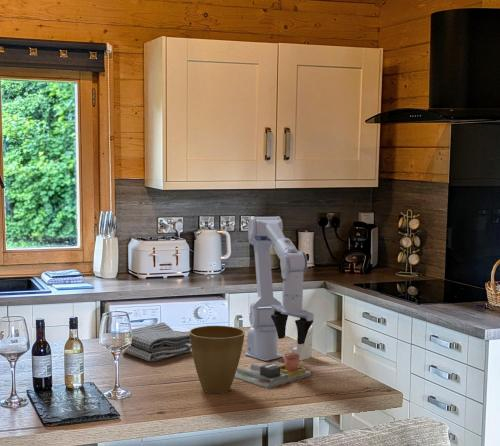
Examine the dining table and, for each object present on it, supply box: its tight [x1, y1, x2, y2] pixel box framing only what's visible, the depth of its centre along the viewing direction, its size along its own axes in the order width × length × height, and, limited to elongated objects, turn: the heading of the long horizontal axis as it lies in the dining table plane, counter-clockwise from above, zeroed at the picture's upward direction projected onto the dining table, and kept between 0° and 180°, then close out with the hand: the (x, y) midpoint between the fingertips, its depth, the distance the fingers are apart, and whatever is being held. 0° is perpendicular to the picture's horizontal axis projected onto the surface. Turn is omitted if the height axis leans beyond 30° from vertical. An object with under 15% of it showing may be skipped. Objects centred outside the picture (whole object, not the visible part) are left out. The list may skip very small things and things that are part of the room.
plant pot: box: [189, 325, 246, 394], centre depth 204 cm, size 15×15×16 cm
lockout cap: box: [283, 352, 300, 372], centre depth 217 cm, size 5×5×5 cm
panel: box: [234, 360, 312, 389], centre depth 217 cm, size 14×18×2 cm
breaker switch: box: [260, 363, 280, 378], centre depth 212 cm, size 4×4×3 cm
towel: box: [123, 322, 192, 362], centre depth 238 cm, size 15×18×8 cm
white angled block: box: [291, 324, 314, 361], centre depth 237 cm, size 4×10×9 cm, turn 141°
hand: (291, 340), depth 217 cm, fingers open, 7 cm apart
